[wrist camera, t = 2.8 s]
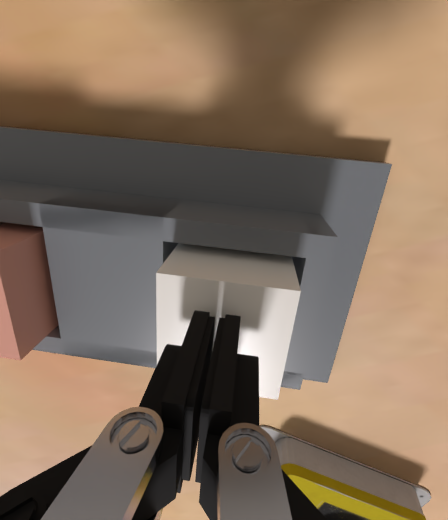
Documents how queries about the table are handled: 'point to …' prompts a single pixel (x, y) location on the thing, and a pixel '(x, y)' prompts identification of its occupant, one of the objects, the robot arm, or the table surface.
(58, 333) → the key panel
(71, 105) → the table surface
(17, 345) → the terracotta key
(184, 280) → the cream key
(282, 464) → the emergency button
